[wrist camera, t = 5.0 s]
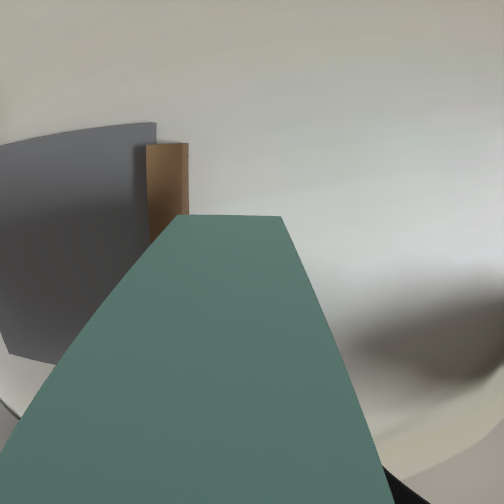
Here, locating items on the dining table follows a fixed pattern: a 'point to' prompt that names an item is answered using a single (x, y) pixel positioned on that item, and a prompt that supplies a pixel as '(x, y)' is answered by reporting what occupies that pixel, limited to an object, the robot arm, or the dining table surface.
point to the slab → (200, 386)
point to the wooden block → (166, 185)
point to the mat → (68, 231)
